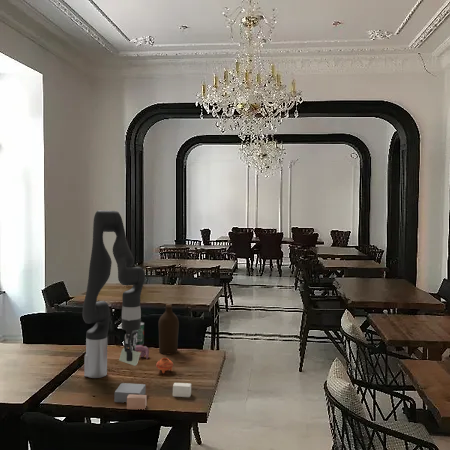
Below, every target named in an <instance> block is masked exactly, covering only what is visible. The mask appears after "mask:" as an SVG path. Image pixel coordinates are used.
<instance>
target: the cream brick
mask: <svg viewBox="0 0 450 450" xmlns="http://www.w3.org/2000/svg"><path fill="white" fill-rule="evenodd" d="M191 395H192V383H190V382H189V383H187V382H174V383H173V385H172V397H176V398H177V397H178V398H179V397H180V398H181V397H182V398H191Z"/></svg>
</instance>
